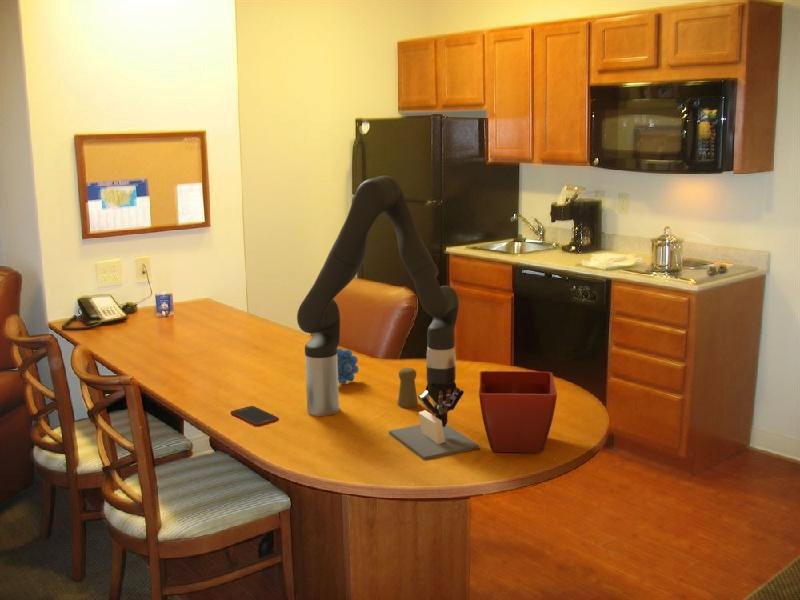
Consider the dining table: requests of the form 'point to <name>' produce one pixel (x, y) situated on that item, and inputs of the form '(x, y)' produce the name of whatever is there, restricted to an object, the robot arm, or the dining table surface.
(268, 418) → the cell phone
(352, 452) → the dining table surface
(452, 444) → the mat
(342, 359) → the grapes
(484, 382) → the plant pot
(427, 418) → the card box
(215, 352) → the dining table surface
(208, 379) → the dining table surface
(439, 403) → the robot arm
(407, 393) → the cork
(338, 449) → the dining table surface
